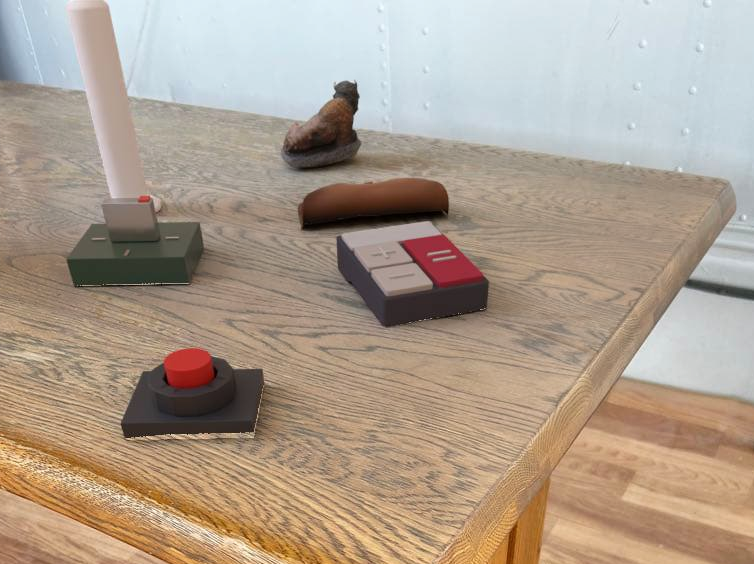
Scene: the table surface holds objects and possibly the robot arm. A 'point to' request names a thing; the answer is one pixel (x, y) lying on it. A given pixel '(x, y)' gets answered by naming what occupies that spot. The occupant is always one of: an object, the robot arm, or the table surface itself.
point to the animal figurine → (325, 132)
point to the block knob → (131, 219)
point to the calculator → (410, 273)
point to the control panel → (137, 256)
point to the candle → (107, 97)
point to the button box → (194, 403)
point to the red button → (189, 368)
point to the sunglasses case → (372, 200)
